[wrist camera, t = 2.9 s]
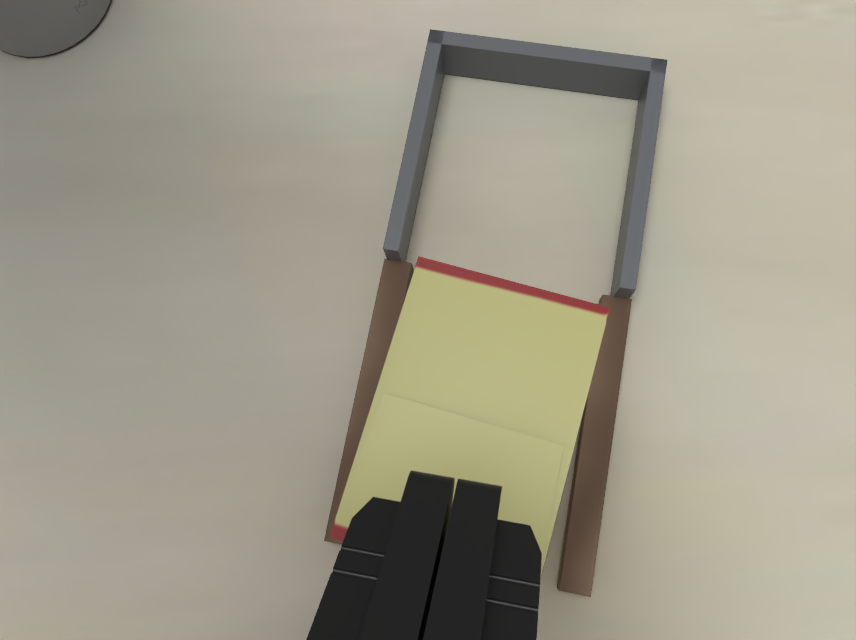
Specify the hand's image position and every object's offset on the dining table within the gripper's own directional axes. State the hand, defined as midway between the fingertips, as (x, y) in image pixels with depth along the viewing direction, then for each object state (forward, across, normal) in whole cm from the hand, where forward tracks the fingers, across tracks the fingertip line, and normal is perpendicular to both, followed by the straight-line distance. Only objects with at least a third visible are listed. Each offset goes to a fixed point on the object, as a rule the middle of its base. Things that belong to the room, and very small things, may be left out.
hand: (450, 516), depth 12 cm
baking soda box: (+21, +1, +17) cm, 27 cm away
